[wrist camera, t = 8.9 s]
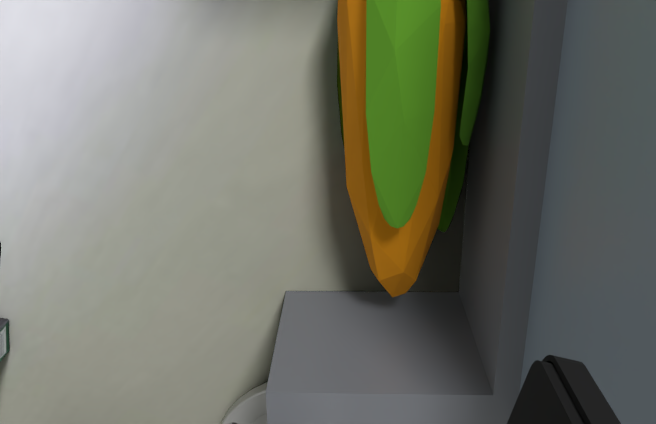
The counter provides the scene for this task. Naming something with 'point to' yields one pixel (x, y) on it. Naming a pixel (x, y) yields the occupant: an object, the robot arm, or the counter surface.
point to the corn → (407, 121)
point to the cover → (602, 208)
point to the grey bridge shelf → (475, 274)
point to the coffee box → (4, 337)
